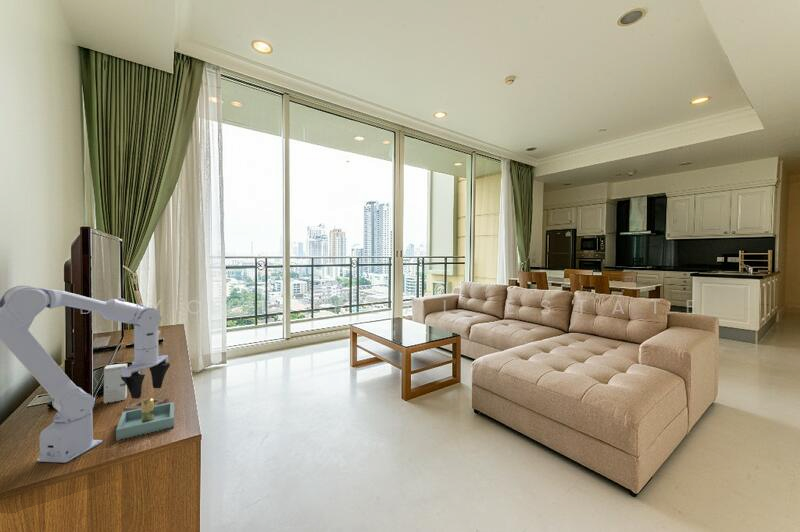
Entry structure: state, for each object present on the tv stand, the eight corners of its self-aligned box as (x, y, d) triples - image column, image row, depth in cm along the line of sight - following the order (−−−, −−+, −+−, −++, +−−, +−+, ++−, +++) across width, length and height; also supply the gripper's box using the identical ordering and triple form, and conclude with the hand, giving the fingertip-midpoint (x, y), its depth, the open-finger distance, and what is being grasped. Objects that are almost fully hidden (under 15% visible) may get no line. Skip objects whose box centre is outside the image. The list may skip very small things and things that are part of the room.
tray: (173, 427, 99) (173, 417, 99) (116, 440, 91) (116, 430, 91) (174, 410, 109) (174, 401, 109) (122, 421, 102) (122, 411, 102)
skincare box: (103, 404, 115) (102, 368, 115) (105, 399, 119) (105, 365, 118) (126, 399, 118) (125, 365, 118) (128, 395, 122) (127, 362, 122)
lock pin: (147, 425, 99) (147, 401, 99) (138, 424, 99) (138, 401, 99) (156, 420, 102) (156, 397, 102) (147, 419, 102) (147, 397, 102)
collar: (148, 413, 108) (148, 408, 108) (123, 412, 108) (123, 408, 108) (168, 402, 116) (168, 398, 116) (145, 401, 117) (145, 397, 117)
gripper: (153, 341, 107) (154, 383, 108) (111, 353, 93) (112, 402, 93) (174, 341, 107) (174, 384, 107) (135, 354, 92) (135, 403, 93)
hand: (147, 392), depth 100 cm, fingers open, 7 cm apart
